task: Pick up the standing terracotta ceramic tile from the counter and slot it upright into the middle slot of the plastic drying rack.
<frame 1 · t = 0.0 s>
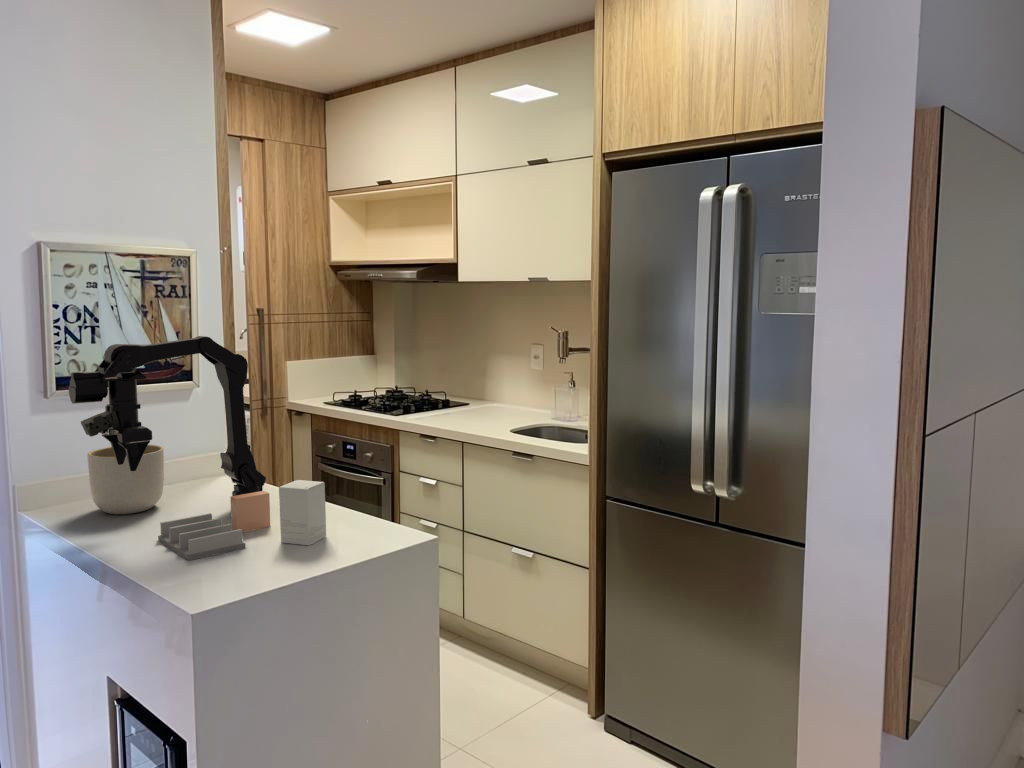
hand: (126, 467, 173), 15 cm above the counter, fingers open, 9 cm apart
dish rack: (201, 543, 165), on the counter
planter: (129, 510, 192), on the counter
supplement box: (303, 540, 169), on the counter
terracotta tile: (251, 528, 177), on the counter
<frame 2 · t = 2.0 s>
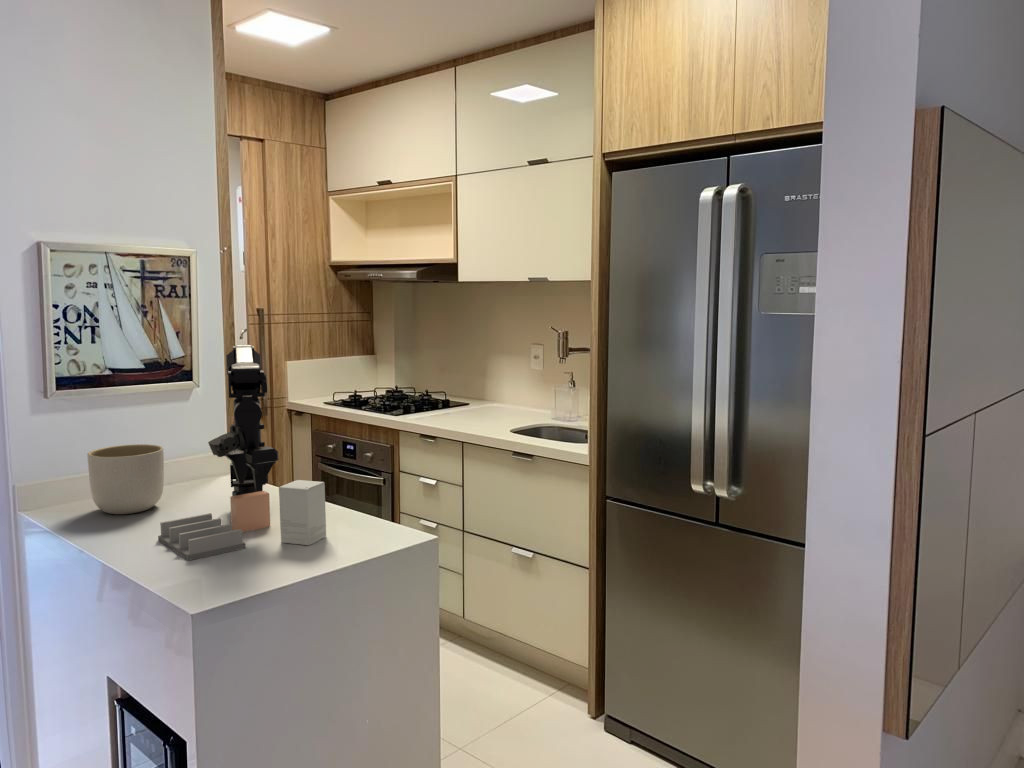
hand: (249, 486, 176), 10 cm above the counter, fingers open, 9 cm apart
nothing on the counter moved.
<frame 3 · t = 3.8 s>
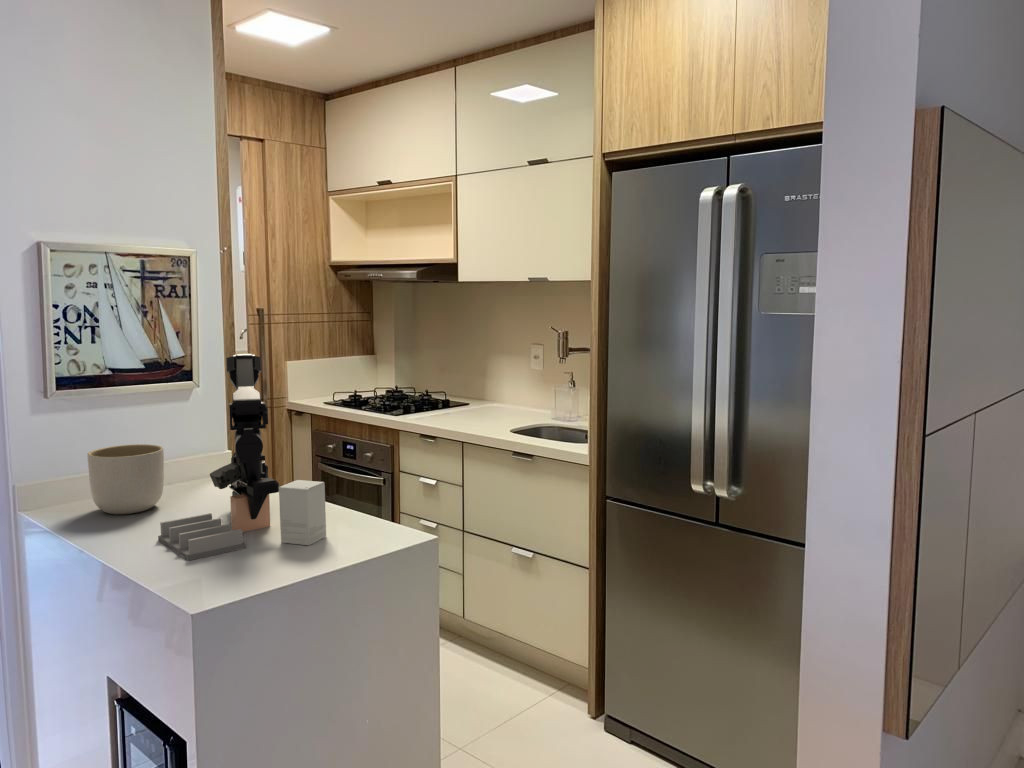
hand: (250, 517, 177), 3 cm above the counter, fingers closed on terracotta tile, 3 cm apart
terracotta tile: (251, 528, 177), on the counter, touching gripper
everything else where it was.
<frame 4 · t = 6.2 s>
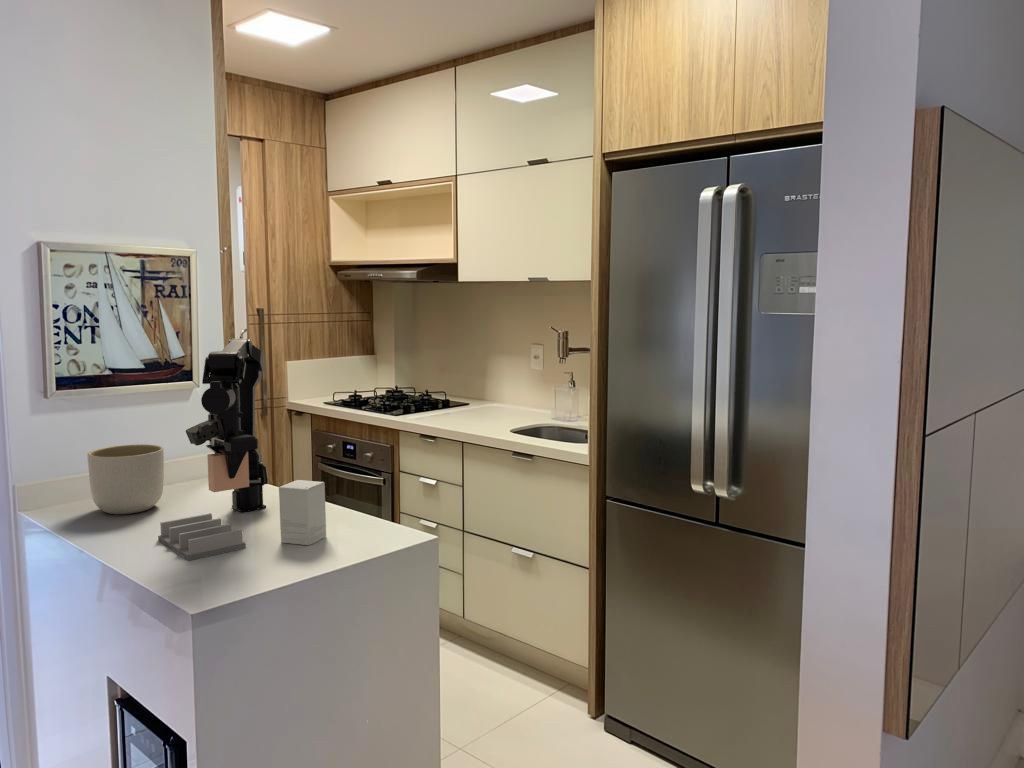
hand: (228, 477, 170), 13 cm above the counter, fingers closed on terracotta tile, 3 cm apart
terracotta tile: (229, 488, 170), point 11 cm above the counter, touching gripper
everything else where it was.
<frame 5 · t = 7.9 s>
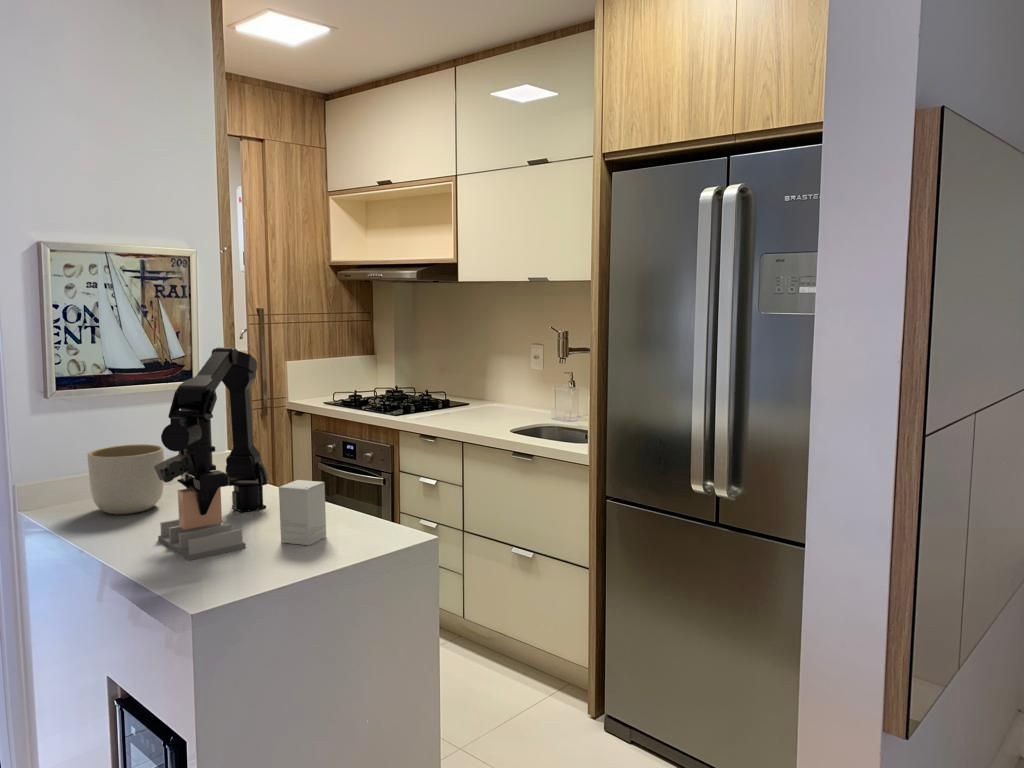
hand: (200, 513, 164), 7 cm above the counter, fingers closed on terracotta tile, 3 cm apart
terracotta tile: (200, 524, 165), point 4 cm above the counter, touching gripper
everything else where it was.
when the fingers open (5 cm above the counter, at t = 8.9 s): terracotta tile drops 1 cm, resting on dish rack.
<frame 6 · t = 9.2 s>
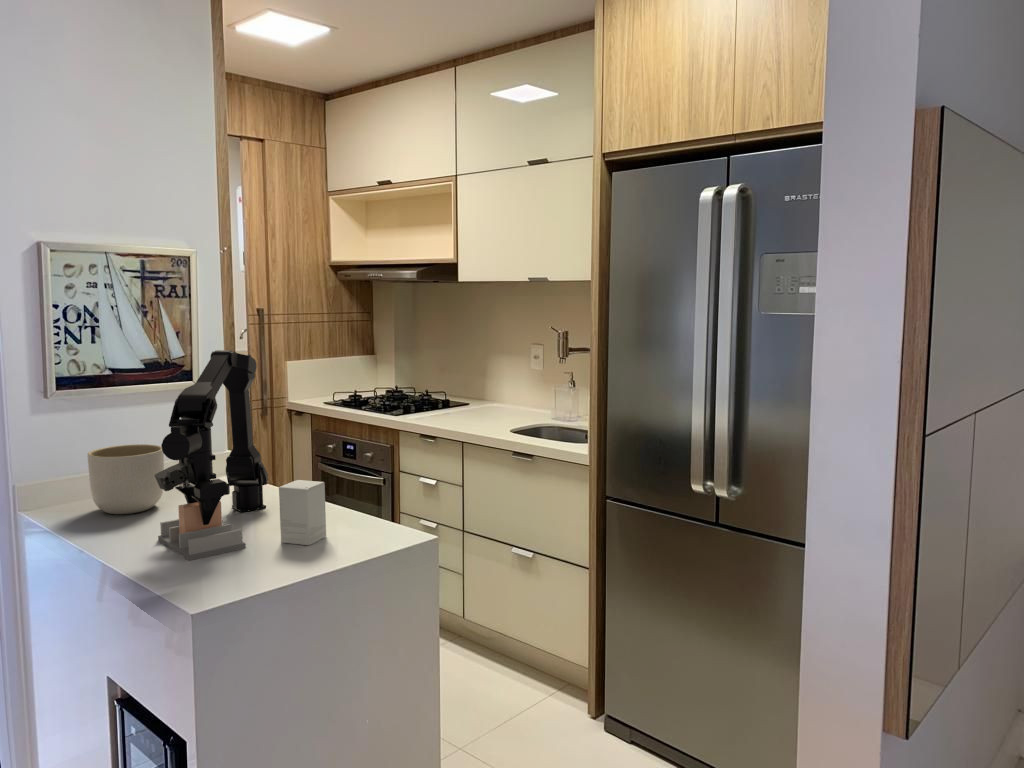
hand: (200, 521, 165), 5 cm above the counter, fingers open, 6 cm apart
terracotta tile: (201, 539, 165), point 1 cm above the counter, touching dish rack
everything else where it was.
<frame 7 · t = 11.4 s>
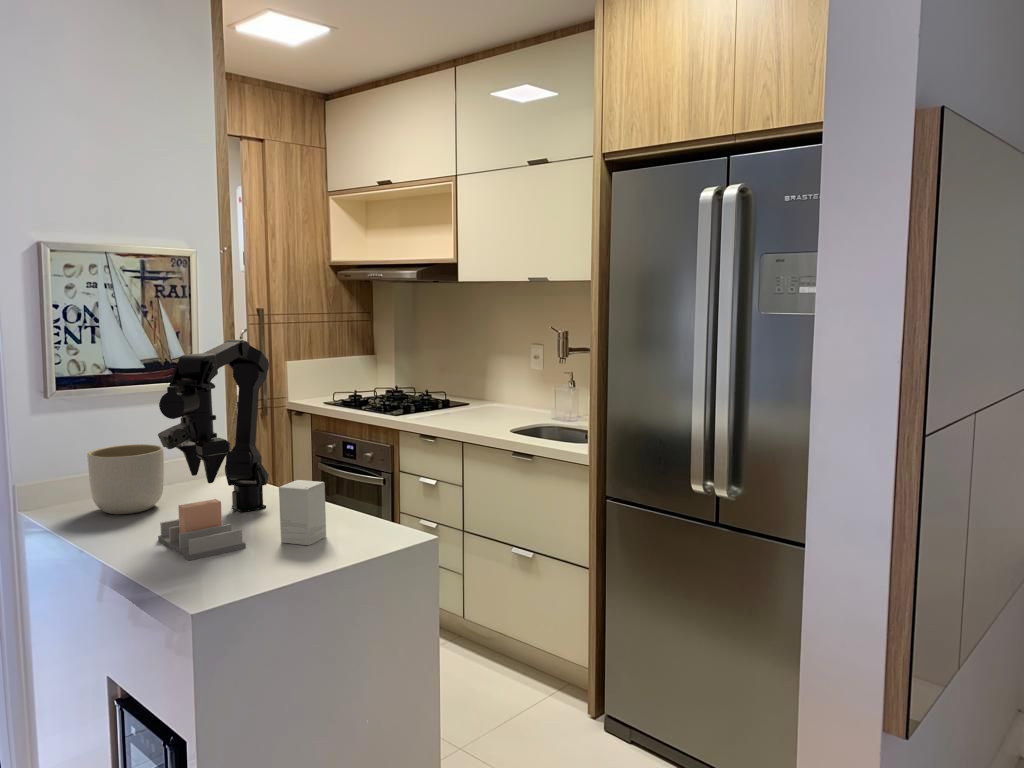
hand: (202, 479, 172), 12 cm above the counter, fingers open, 9 cm apart
nothing on the counter moved.
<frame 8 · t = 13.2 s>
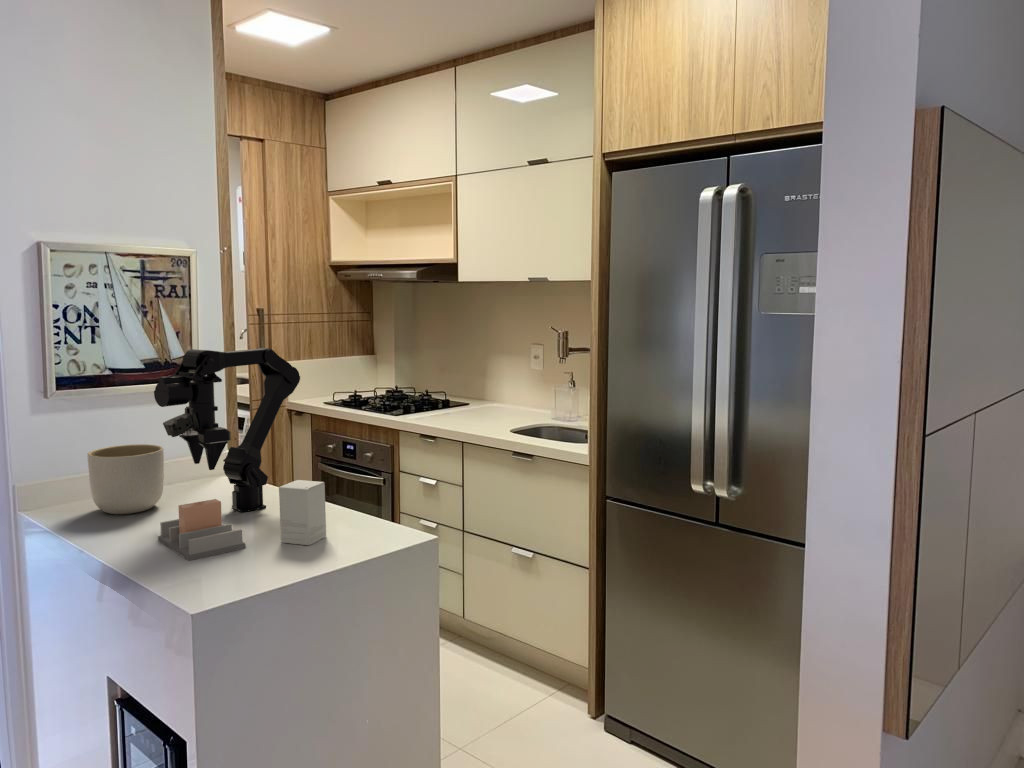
hand: (204, 466, 182), 13 cm above the counter, fingers open, 9 cm apart
nothing on the counter moved.
at the end: terracotta tile 0.1 cm off-centre on the dish rack, point 1.0 cm above the dish rack's base; terracotta tile tilted 0°; the gripper is holding nothing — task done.
